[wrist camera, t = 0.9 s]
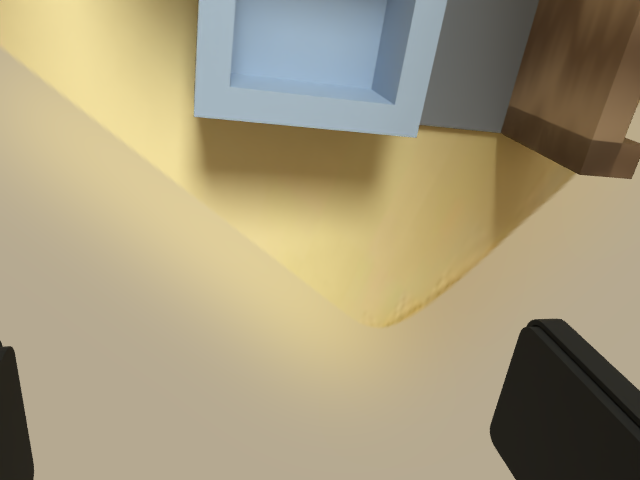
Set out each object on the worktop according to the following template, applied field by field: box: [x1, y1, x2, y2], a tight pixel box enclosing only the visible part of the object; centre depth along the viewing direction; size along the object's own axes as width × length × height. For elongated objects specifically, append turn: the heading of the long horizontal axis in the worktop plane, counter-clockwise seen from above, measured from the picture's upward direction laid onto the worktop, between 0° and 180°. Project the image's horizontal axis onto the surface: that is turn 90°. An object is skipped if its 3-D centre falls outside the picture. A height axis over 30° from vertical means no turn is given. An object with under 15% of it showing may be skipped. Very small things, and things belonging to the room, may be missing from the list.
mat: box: [194, 0, 539, 133], centre depth 30 cm, size 12×21×1 cm, turn 82°
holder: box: [194, 0, 447, 138], centre depth 26 cm, size 11×11×5 cm
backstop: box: [501, 0, 640, 179], centre depth 28 cm, size 12×3×8 cm, turn 172°
